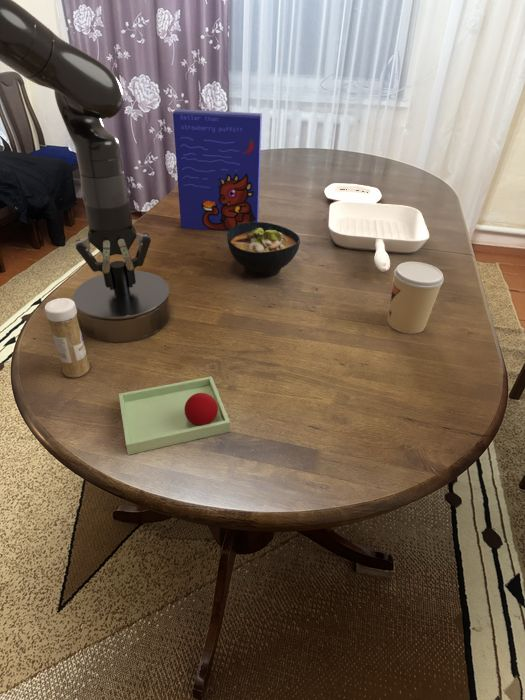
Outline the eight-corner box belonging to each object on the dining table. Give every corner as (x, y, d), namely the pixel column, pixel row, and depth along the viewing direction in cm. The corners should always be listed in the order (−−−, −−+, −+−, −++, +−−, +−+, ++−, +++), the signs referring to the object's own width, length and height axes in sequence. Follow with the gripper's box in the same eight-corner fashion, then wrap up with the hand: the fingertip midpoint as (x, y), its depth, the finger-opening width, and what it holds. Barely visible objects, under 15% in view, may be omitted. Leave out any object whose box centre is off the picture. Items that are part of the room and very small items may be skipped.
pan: (415, 221, 144) (419, 206, 141) (438, 289, 109) (444, 271, 107) (328, 213, 146) (330, 199, 144) (323, 278, 112) (326, 260, 109)
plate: (379, 211, 150) (380, 205, 149) (320, 204, 153) (321, 198, 152) (381, 192, 165) (382, 187, 164) (327, 186, 168) (328, 181, 167)
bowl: (263, 294, 105) (265, 253, 99) (213, 268, 114) (212, 229, 108) (311, 270, 115) (315, 232, 109) (261, 248, 124) (262, 212, 118)
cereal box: (258, 224, 137) (261, 112, 120) (256, 232, 133) (260, 116, 115) (185, 220, 138) (177, 108, 120) (181, 228, 133) (172, 112, 115)
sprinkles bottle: (94, 372, 81) (78, 306, 73) (67, 382, 79) (48, 314, 71) (85, 359, 84) (69, 294, 76) (59, 367, 82) (40, 301, 74)
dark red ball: (177, 415, 67) (208, 430, 67) (193, 384, 68) (224, 400, 68) (179, 418, 72) (208, 432, 72) (194, 389, 73) (223, 403, 73)
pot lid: (75, 329, 83) (66, 294, 78) (72, 281, 97) (65, 249, 92) (177, 313, 88) (175, 280, 84) (161, 270, 102) (158, 239, 97)
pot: (83, 349, 86) (77, 326, 83) (80, 302, 99) (75, 281, 96) (176, 334, 91) (174, 312, 88) (162, 291, 104) (160, 271, 101)
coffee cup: (390, 307, 102) (401, 256, 95) (433, 319, 99) (448, 267, 92) (377, 327, 95) (389, 275, 88) (423, 341, 92) (439, 287, 85)
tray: (128, 455, 67) (125, 445, 65) (120, 403, 75) (118, 393, 74) (230, 431, 71) (230, 422, 70) (212, 385, 79) (211, 376, 78)
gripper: (144, 189, 85) (154, 273, 96) (63, 194, 81) (82, 282, 92) (150, 202, 80) (160, 291, 90) (63, 209, 76) (84, 301, 86)
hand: (121, 286), depth 91 cm, fingers closed on pot lid, 3 cm apart
